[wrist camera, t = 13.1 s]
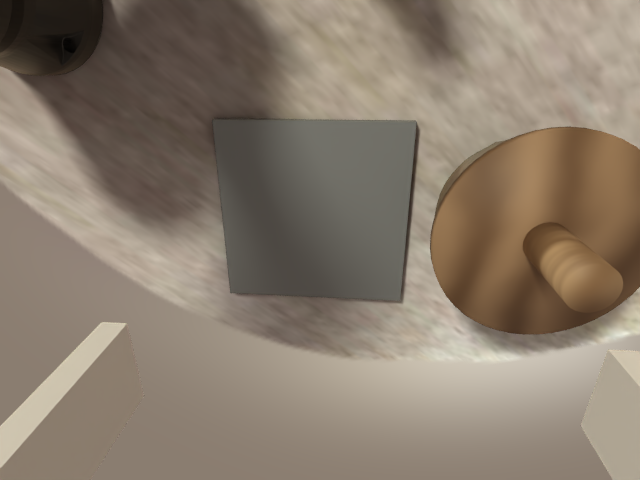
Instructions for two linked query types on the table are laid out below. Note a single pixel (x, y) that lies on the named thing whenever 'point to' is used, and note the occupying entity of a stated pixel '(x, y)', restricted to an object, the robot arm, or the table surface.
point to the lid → (542, 231)
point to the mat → (315, 205)
